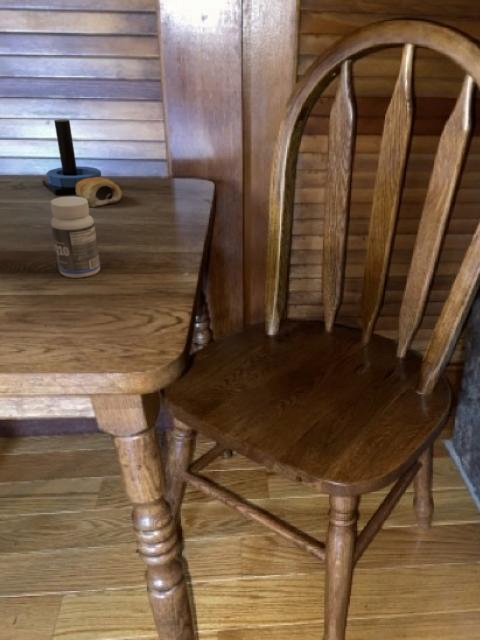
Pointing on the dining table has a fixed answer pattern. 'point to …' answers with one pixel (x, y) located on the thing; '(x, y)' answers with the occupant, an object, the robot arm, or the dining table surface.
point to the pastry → (98, 191)
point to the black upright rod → (64, 156)
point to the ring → (60, 180)
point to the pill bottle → (74, 237)
